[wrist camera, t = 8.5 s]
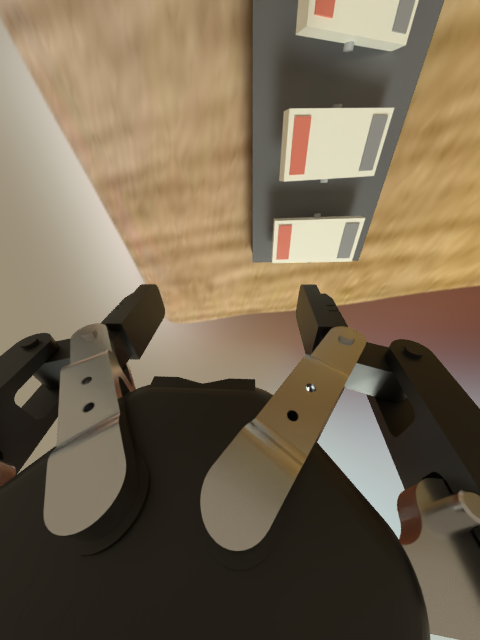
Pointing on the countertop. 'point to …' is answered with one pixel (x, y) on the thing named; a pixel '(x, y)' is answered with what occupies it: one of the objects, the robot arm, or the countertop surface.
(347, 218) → the rocker
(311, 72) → the rocker switch panel
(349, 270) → the countertop surface
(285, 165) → the rocker
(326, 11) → the rocker
